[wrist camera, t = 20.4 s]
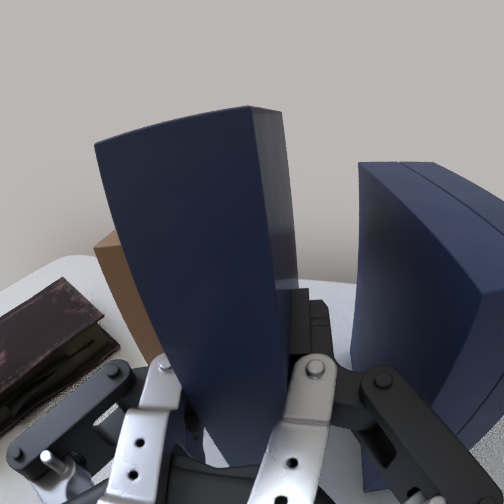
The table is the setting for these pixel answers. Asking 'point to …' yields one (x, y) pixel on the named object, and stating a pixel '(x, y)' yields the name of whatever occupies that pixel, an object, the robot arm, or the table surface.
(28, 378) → the diary
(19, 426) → the table surface
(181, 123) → the navy book
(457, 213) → the navy book pair
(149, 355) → the tan books
